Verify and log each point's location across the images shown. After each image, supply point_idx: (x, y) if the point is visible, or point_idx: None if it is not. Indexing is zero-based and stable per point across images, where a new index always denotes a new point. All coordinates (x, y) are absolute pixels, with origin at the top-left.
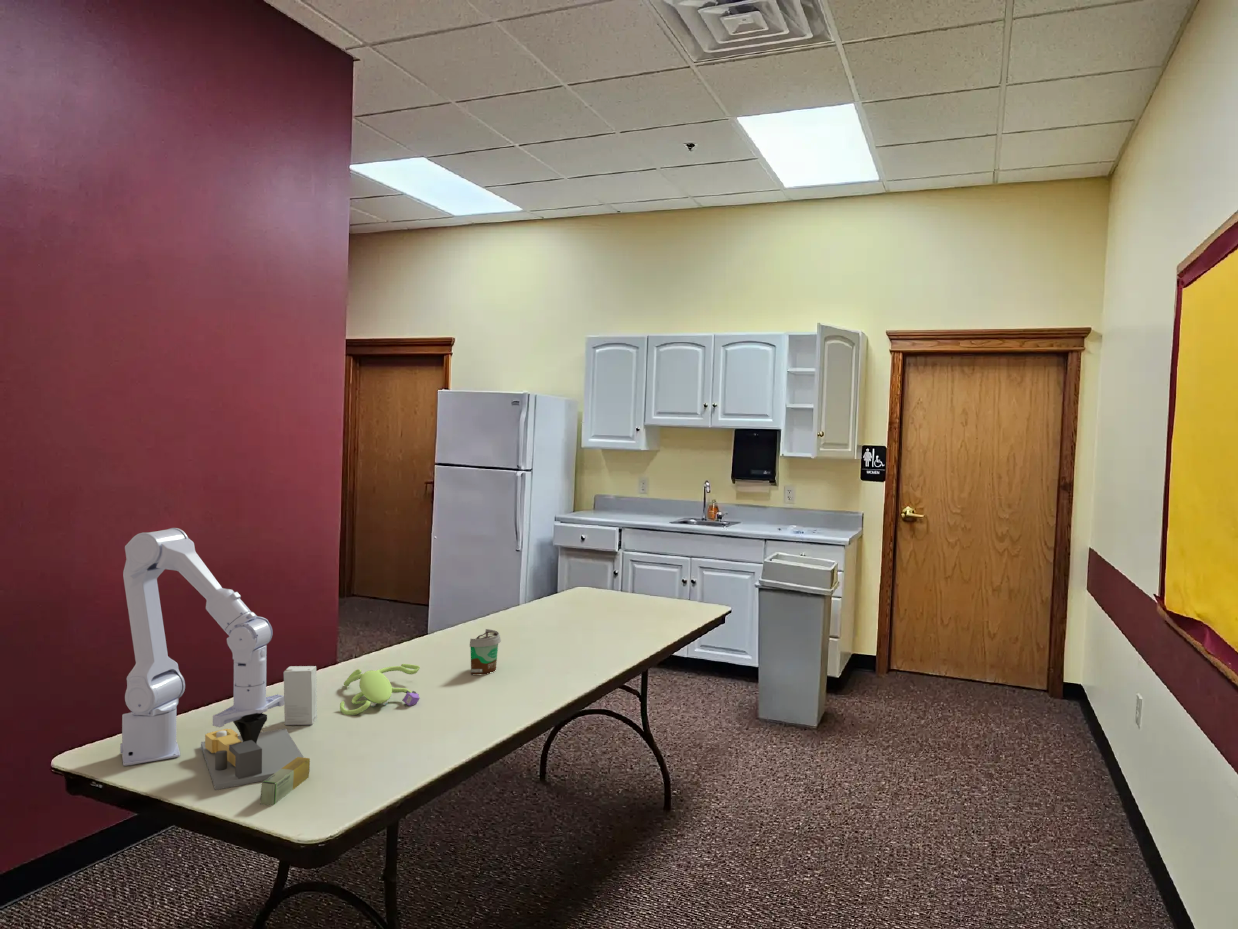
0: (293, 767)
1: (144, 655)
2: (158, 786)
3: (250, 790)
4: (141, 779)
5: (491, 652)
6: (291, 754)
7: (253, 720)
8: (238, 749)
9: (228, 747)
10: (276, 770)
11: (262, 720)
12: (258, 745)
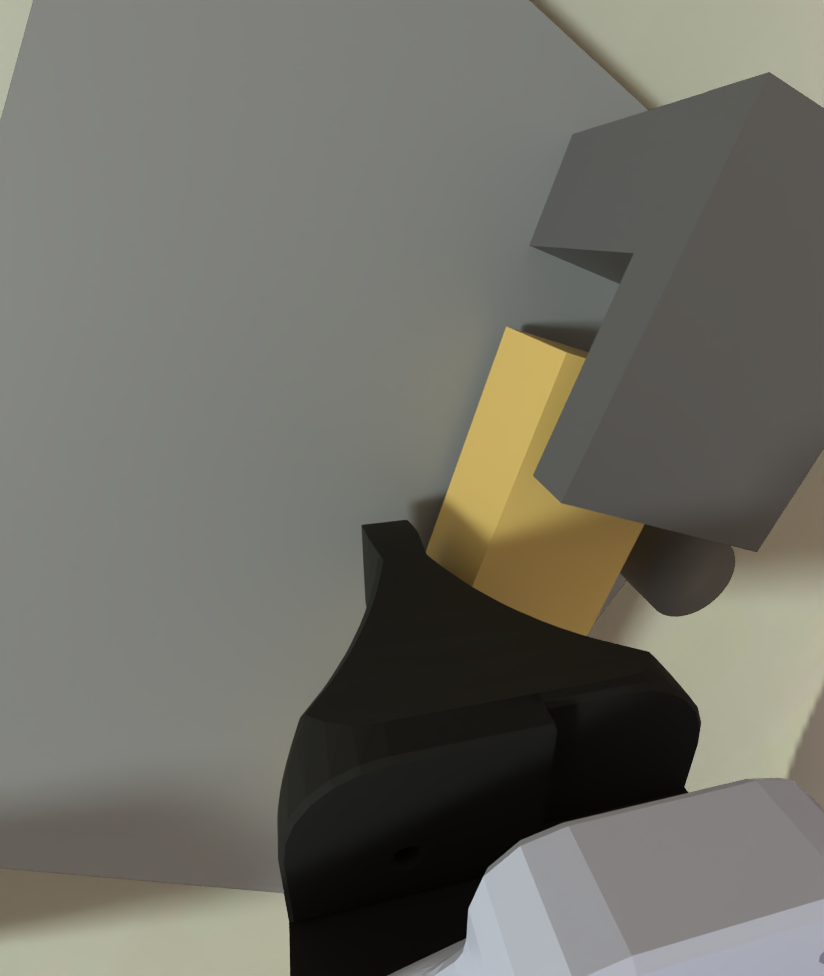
0: None
1: None
2: (814, 591)
3: (757, 9)
4: (764, 706)
5: None
6: (84, 290)
7: (592, 750)
8: None
9: (590, 629)
10: (459, 44)
11: (430, 704)
12: (190, 684)
